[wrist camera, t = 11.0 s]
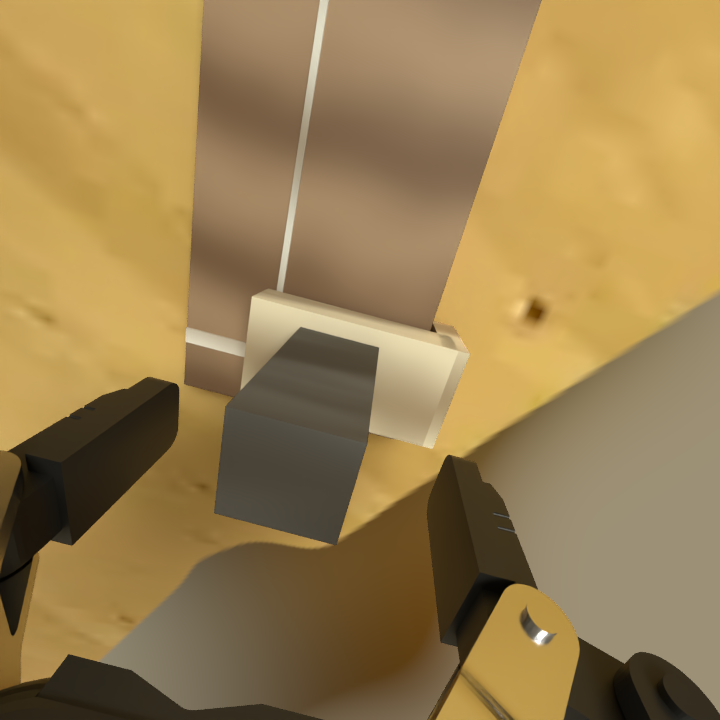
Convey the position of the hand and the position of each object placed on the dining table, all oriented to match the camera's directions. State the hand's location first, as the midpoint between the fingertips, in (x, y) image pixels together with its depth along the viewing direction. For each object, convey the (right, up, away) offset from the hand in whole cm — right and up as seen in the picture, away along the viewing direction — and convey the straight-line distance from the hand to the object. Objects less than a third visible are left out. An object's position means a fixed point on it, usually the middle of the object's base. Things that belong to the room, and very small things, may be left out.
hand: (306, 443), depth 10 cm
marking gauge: (+1, +3, +9) cm, 10 cm away
